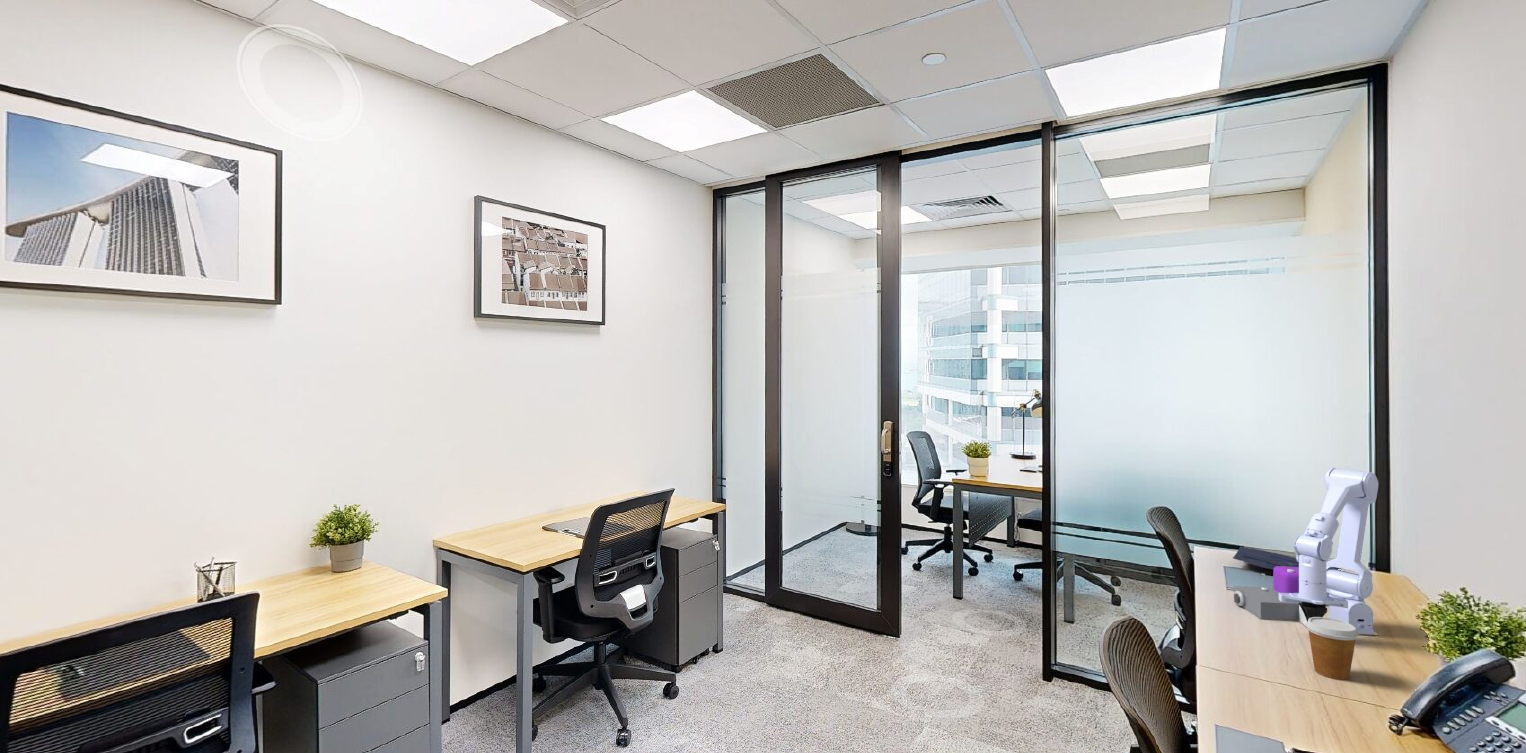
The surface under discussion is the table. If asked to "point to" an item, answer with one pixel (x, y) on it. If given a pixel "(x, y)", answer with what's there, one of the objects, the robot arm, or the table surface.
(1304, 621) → the side door
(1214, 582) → the table surface
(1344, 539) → the robot arm
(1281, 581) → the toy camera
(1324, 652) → the disposable coffee cup
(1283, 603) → the grey box
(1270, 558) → the dark grey slab
